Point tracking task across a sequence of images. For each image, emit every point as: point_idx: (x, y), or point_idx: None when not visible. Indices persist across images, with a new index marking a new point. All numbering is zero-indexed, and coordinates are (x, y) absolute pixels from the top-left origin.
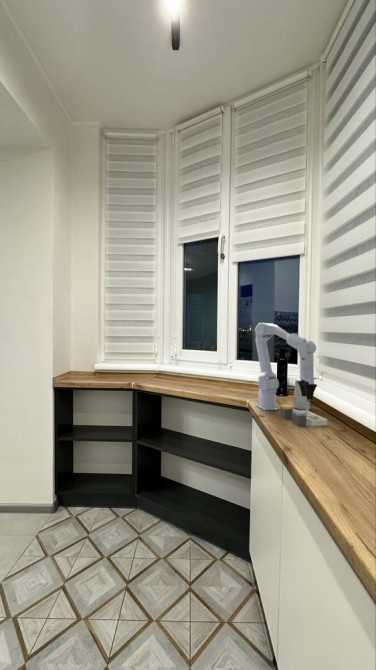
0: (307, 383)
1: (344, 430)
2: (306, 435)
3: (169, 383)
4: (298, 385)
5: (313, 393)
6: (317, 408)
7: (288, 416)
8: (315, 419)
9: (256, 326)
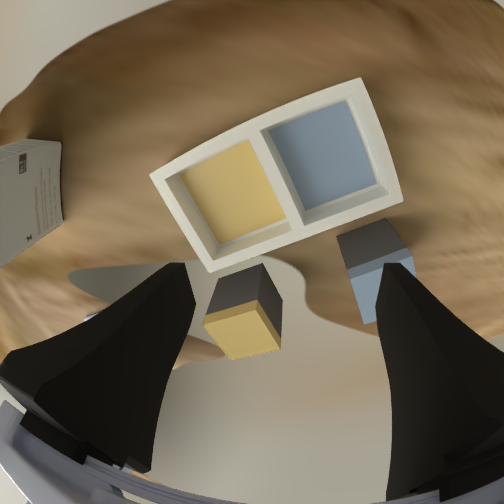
0: (92, 397)
1: (414, 22)
2: (489, 251)
3: None
4: None
5: (447, 309)
6: (21, 99)
7: (272, 290)
8: (286, 134)
9: None
